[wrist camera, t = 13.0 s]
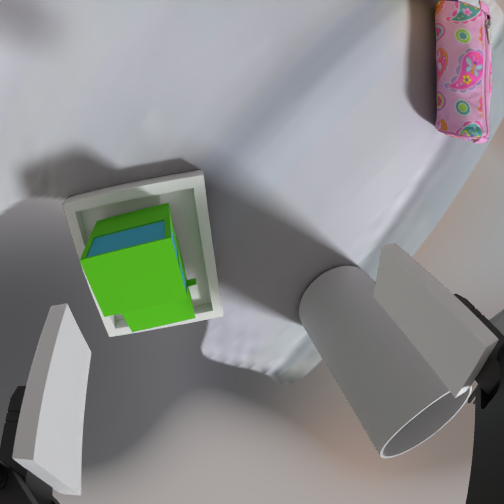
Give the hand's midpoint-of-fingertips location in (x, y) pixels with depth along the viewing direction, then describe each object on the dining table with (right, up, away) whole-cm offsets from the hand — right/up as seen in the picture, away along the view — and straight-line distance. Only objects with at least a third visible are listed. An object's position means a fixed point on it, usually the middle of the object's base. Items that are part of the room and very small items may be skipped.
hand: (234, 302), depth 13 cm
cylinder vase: (+13, -5, +36) cm, 39 cm away
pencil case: (+29, +29, +23) cm, 47 cm away
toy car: (-11, +1, +24) cm, 27 cm away
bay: (-12, +1, +25) cm, 27 cm away
